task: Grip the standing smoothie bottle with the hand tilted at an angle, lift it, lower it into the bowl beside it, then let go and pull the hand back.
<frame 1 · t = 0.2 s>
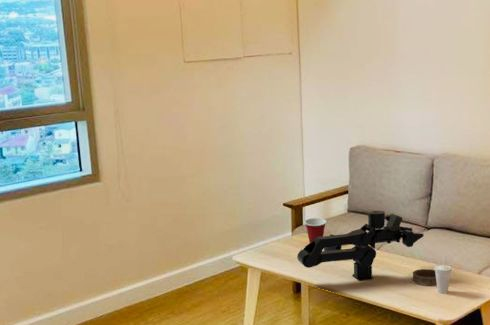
hand: (417, 232, 266), 17 cm above the table, tool horizontal, fingers open, 9 cm apart
speaker: (332, 258, 290), on the table
bowl: (427, 280, 255), on the table
smoothie: (442, 292, 243), on the table
plastic cup: (315, 244, 311), on the table
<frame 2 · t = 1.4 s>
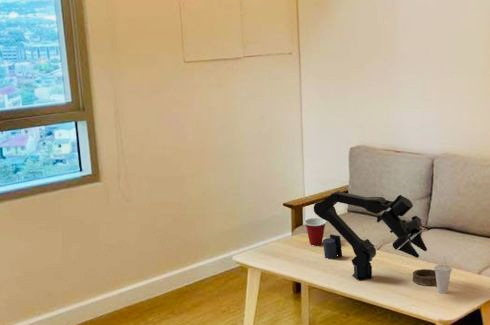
hand: (422, 253, 246), 14 cm above the table, tool tilted 45°, fingers open, 9 cm apart
nothing on the table moved.
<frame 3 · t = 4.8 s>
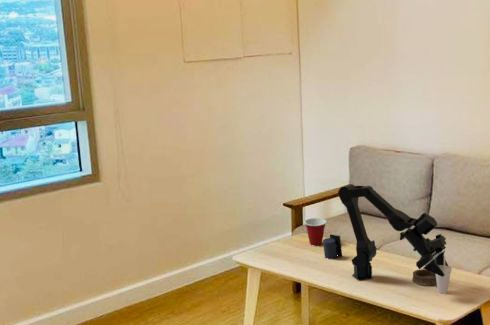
hand: (446, 273, 241), 8 cm above the table, tool tilted 45°, fingers closed on smoothie, 6 cm apart
smoothie: (442, 292, 243), on the table, touching gripper
everything else where it was.
when the fingers open (10 cm above the table, at t = 9.1 s): smoothie stays where it is, resting on bowl.
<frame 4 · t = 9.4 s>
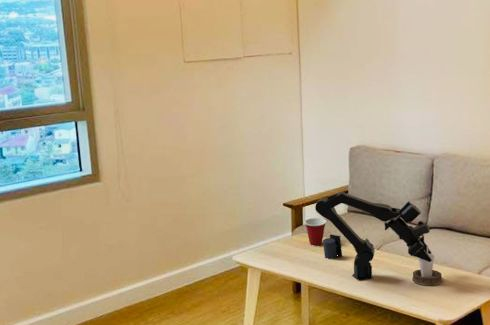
hand: (430, 257, 253), 10 cm above the table, tool tilted 45°, fingers open, 9 cm apart
smoothie: (426, 279, 255), point 1 cm above the table, touching bowl
everything else where it was.
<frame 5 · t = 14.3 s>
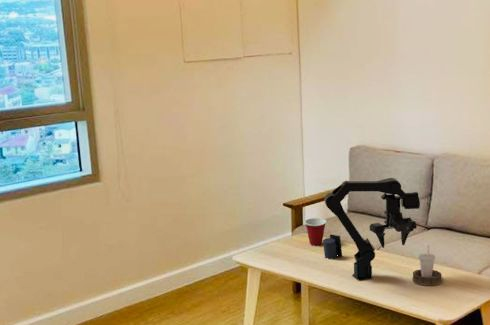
hand: (393, 246, 260), 13 cm above the table, tool pointing down, fingers open, 9 cm apart
nothing on the table moved.
at the end: smoothie 0.2 cm off-centre on the bowl, point 0.6 cm above the bowl's base; smoothie tilted 0°; the gripper is holding nothing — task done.
